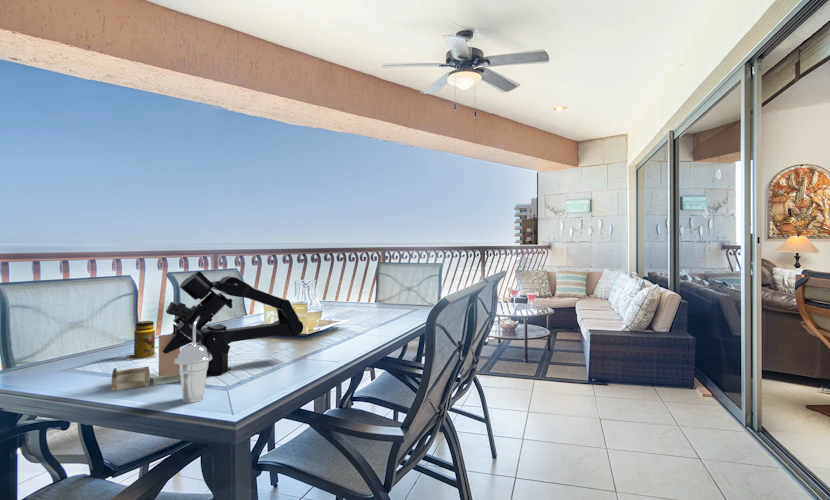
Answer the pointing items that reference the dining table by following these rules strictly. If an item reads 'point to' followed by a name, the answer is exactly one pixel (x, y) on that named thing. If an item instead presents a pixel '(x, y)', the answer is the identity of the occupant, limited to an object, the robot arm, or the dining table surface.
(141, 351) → the condiment
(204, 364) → the cup with straw
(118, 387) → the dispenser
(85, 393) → the dining table surface
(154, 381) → the pad
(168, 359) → the pinkish tan rectangular block
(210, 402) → the dining table surface
